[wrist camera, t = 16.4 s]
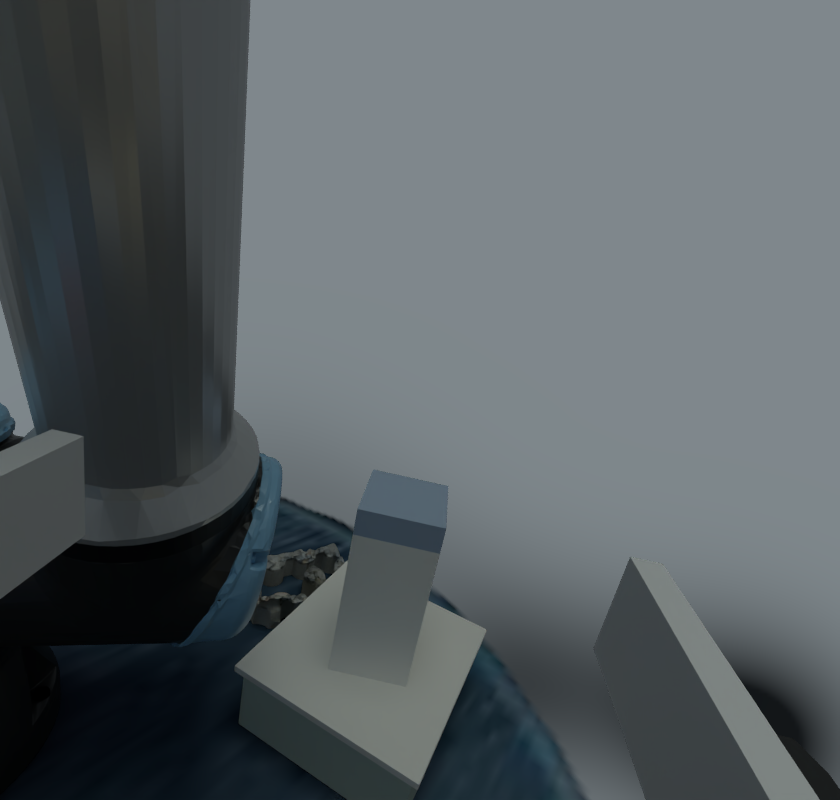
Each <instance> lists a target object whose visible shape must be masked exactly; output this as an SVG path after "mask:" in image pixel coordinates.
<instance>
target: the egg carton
mask: <svg viewBox="0 0 840 800" xmlns="http://www.w3.org/2000/svg"><path fill="white" fill-rule="evenodd" d="M343 564H344V560H343V558H342V557H340V554H339V551H338V549H337V547H336V545H335V544H330V545H328V546H325V547H322V548H319V549H317V550H311V549H309V550H308V551H307V552H304V551H302V550H301V549H300V550H297V551H295V552H291V553H283V554H280V555H268V556H267V568H266V572H265V577H264V581H263V584H264V585H266V586H277V585H279V584H280V583H281V582H282V581H283V577H284V576H288V575H293V576H294V577H295V578H297V579H300V580H303V584H302V590H301V594H299V595H298V596H295V595H289V594H287V593H284V592H278V593H275V594H274V595H271V596H269V597H267V596H263V597H262V596H261V592H260V595H259V598H258V601H257V604H256V607H255V610H254V612H253V615H252V617H251V621H252V624H261V625H264V626H266V628H267V629H272V628H276V627H277V626H278V625H279V623H280V620H281V619H282V618H284V617H286V616H288V615H290V614H291V613H292V612H293V611H294V610H295V609H296V608H297V607H298V606H299V605H300V604H301V603H302V602H303V601H305V600H306V599H307V598H308V597H309V596H310V595H311V594H312V593H313V592H314V591H315V590H316V589H317V588H318V587H320V586H321V585H322V584H323V583H324V582H325V580H326V579H325V574H324V572H325V573H330V574H333V573H334V572H336V571H337V570H338V569H339V568H340V567H341V566H342V565H343Z"/></svg>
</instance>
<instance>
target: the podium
mask: <svg viewBox="0 0 840 800" xmlns="http://www.w3.org/2000/svg"><path fill="white" fill-rule="evenodd" d="M347 564H348V561H346V562H345V563H344V564H343V565H342V566H341V567H340V568H339V569H338V570H337V571H336V572H334V573H333V574H332V575H331V576H330V577H329V578H328V579H327V580H326V581H325V582H324V583H323V584H322V585H321V586H320V587H318V588H317V589H316V590H315V591H314V592H313V593H312V594H311V595H310V596H309V597H308V598H307V599H306V600H305V601H303V602H302V603H301V604H300V605H299V606H298V607H297V608H296V609H295V610H294V611H293V612H292V613H291V614H290V615H288V616H287V617H286V618H285V619H284V620H283V621H282V622H281V623H280V624H279V625H278V626H277V627H276V628H275V629H274V630H272V631H271V632H270V633H269V634H268V635H267V636H266V637H265V638H264V639H263V640H262V641H261V642H260V643H259V644H257V645H256V646H255V647H254V648H253V649H252V650H251V651H250V652H249V653H248V654H247V655H246V656H245V657H244V658H242V659H241V660H240V661H239V662H238V663H237V664H236V665H235V668H234V671H235V672H237V673H238V674H240V675H241V676H243V677H244V679H243V688H242V696H241V705H240V714H239V723H238V724H240V725H241V726H243V727H244V728H245V729H247V730H248V731H250V732H251V733H253V734H254V735H256V736H257V737H258V738H260V739H261V740H263V741H264V742H266V743H267V744H268V745H270V746H271V747H273V748H274V749H276V750H277V751H278V752H280V753H281V754H283V755H284V756H286V757H287V758H288V759H290V760H291V761H293V762H294V763H296V764H297V765H298V766H300V767H301V768H303V769H304V770H306V771H307V772H308V773H310V774H311V775H313V776H314V777H316V778H317V779H318V780H320V781H321V782H323V783H324V784H326V785H327V786H328V787H330V788H331V789H333V790H334V791H336V792H337V793H338V794H340V795H341V796H343V797H344V798H346V799H347V800H413V799H414V796H415V794H416V792H417V791H418V788H419V786H420V784H421V781H422V779H423V777H424V774H425V772H426V770H427V767H428V765H429V763H430V761H431V758H432V756H433V754H434V751H435V749H436V747H437V744H438V742H439V740H440V738H441V735H442V733H443V731H444V728H445V726H446V724H447V721H448V719H449V717H450V715H451V712H452V710H453V708H454V705H455V703H456V701H457V698H458V696H459V694H460V691H461V689H462V687H463V685H464V682H465V680H466V678H467V675H468V673H469V671H470V668H471V666H472V664H473V662H474V659H475V657H476V655H477V652H478V650H479V648H480V645H481V643H482V641H483V639H484V636H485V634H486V631H487V630H486V629H484V628H482V627H480V626H478V625H476V624H474V623H472V622H470V621H468V620H466V619H464V618H462V617H460V616H458V615H456V614H454V613H452V612H450V611H448V610H446V609H444V608H442V607H440V606H438V605H436V604H434V603H432V602H430V601H428V602H427V606H426V610H425V614H424V618H423V622H422V626H421V630H420V634H419V638H418V641H417V645H416V649H415V653H414V657H413V661H412V665H411V669H410V673H409V677H408V681H407V685H406V687H404V686H400V685H395V684H391V683H386V682H382V681H378V680H373V679H369V678H364V677H360V676H356V675H351V674H347V673H342V672H338V671H334V670H329V669H328V667H329V661H330V656H331V651H332V645H333V640H334V634H335V629H336V623H337V618H338V613H339V607H340V602H341V596H342V591H343V586H344V580H345V575H346V569H347Z"/></svg>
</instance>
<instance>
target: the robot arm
mask: <svg viewBox="0 0 840 800" xmlns="http://www.w3.org/2000/svg"><path fill="white" fill-rule="evenodd" d="M249 19H250V0H0V301H1V304H2V308H3V312H4V315H5V319H6V323H7V326H8V330H9V334H10V338H11V341H12V345H13V349H14V353H15V356H16V359H17V364H18V367H19V371H20V375H21V379H22V382H23V386H24V389H25V393H26V397H27V401H28V404H29V408H30V412H31V415H32V419H33V423H34V428H33V429H32V430H31V431H30V432H29V433H28V434H27V435H26V436H25V437H20V436H15V435H14V434H13V430H14V429H15V421H14V419H13V418H12V417H10V414H9V411H8V409H7V408H6V407H5V406H4V405H2V404H1V403H0V794H1V793H2V792H3V791H4V790H5V789H6V788H7V787H8V786H9V785H10V784H11V783H12V782H13V781H14V780H15V779H16V778H17V777H18V776H19V775H20V774H21V773H22V772H23V770H24V769H25V768H26V767H27V766H28V765H29V763H30V762H31V761H32V759H33V758H34V757H35V756H36V754H37V753H38V751H39V750H40V748H41V747H42V746H43V744H44V742H45V741H46V739H47V737H48V735H49V733H50V731H51V730H52V727H53V725H54V723H55V720H56V717H57V714H58V710H59V706H60V696H61V693H60V674H59V667H58V663H57V660H56V657H55V655H54V653H53V651H52V650H51V648H50V647H49V646H59V645H107V644H155V643H170V644H171V645H172V646H175V647H184V646H187V645H189V644H190V643H194V642H207V641H220V640H226V639H229V638H232V637H234V636H235V635H237V634H238V633H240V632H241V631H242V630H243V629H244V628H245V626H246V625H247V624H248V622H249V621H250V619H251V617H252V615H253V612H254V610H255V607H256V604H257V601H258V598H259V595H260V592H261V588H262V585H263V581H264V577H265V572H266V568H267V556H268V554H269V552H270V547H271V544H272V541H273V537H274V532H275V527H276V522H277V516H278V510H279V503H280V496H281V486H282V467H281V464H280V463H279V461H277V460H276V459H275V458H272V457H268V456H266V455H265V454H261V453H259V447H258V441H257V437H256V435H255V432H254V431H253V429H252V427H251V426H250V425H249V423H248V422H247V421H246V420H245V419H244V418H243V417H242V416H241V415H240V414H239V413H238V412H236V411H235V410H234V391H235V366H236V342H237V341H236V340H237V317H238V292H239V266H240V243H241V218H242V193H243V192H242V191H243V168H244V144H245V143H244V142H245V119H246V93H247V69H248V44H249ZM594 651H595V654H596V657H597V660H598V663H599V666H600V669H601V672H602V674H603V677H604V680H605V683H606V686H607V689H608V692H609V694H610V698H611V700H612V703H613V706H614V709H615V712H616V715H617V718H618V721H619V724H620V726H621V729H622V732H623V735H624V738H625V741H626V744H627V747H628V749H629V752H630V755H631V758H632V761H633V764H634V767H635V770H636V772H637V776H638V778H639V781H640V784H641V787H642V790H643V793H644V796H645V799H646V800H840V789H839V788H838V786H837V785H836V783H835V782H834V781H833V779H832V778H831V776H830V775H829V774H828V773H827V772H826V771H825V770H824V769H823V768H822V767H821V766H820V765H819V764H818V763H817V762H816V761H815V760H814V759H813V758H812V757H811V756H810V755H809V754H808V753H807V752H806V751H805V750H804V749H803V748H802V747H801V746H800V745H799V744H798V743H797V742H796V741H795V740H794V739H793V738H788V737H783V736H780V735H776V733H775V732H774V730H773V729H772V728H771V726H770V724H769V723H768V721H767V720H766V718H765V717H764V715H763V714H762V712H761V711H760V710H759V708H758V706H757V705H756V703H755V702H754V700H753V699H752V697H751V696H750V694H749V693H748V691H747V690H746V688H745V687H744V685H743V684H742V682H741V681H740V679H739V678H738V676H737V675H736V673H735V672H734V670H733V669H732V667H731V666H730V664H729V663H728V661H727V660H726V658H725V657H724V655H723V654H722V652H721V651H720V649H719V648H718V646H717V645H716V643H715V642H714V640H713V639H712V637H711V636H710V634H709V633H708V631H707V630H706V628H705V627H704V625H703V624H702V622H701V621H700V619H699V618H698V616H697V615H696V613H695V612H694V610H693V609H692V607H691V606H690V604H689V603H688V601H687V600H686V598H685V597H684V595H683V594H682V592H681V591H680V589H679V588H678V587H677V585H676V583H675V582H674V580H673V579H672V577H671V576H670V574H669V573H668V571H667V570H666V568H665V567H664V565H663V564H660V563H656V562H651V561H647V560H642V559H638V558H634V557H630V559H629V561H628V564H627V566H626V569H625V572H624V574H623V576H622V579H621V581H620V584H619V586H618V589H617V591H616V594H615V596H614V599H613V601H612V604H611V606H610V609H609V611H608V614H607V616H606V619H605V621H604V623H603V626H602V628H601V631H600V633H599V636H598V639H597V641H596V643H595V646H594Z"/></svg>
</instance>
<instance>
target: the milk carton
mask: <svg viewBox="0 0 840 800" xmlns="http://www.w3.org/2000/svg"><path fill="white" fill-rule="evenodd" d="M447 500H448V486H445V485H441V484H436V483H432V482H427V481H423V480H418V479H414V478H409V477H405V476H400V475H396V474H391V473H386V472H382V471H378V470H373V472H372V474H371V477H370V479H369V482H368V484H367V487H366V490H365V492H364V494H363V497H362V499H361V502H360V504H359V507H358V510H357V515H356V520H355V526H354V531H353V537H352V542H351V548H350V553H349V558H348V564H347V569H346V575H345V580H344V586H343V591H342V596H341V602H340V607H339V613H338V618H337V623H336V629H335V634H334V640H333V645H332V651H331V656H330V661H329V667H328V669H329V670H334V671H338V672H342V673H347V674H351V675H356V676H360V677H364V678H369V679H373V680H378V681H382V682H386V683H391V684H395V685H400V686H404V687H406V685H407V681H408V677H409V673H410V669H411V665H412V661H413V657H414V653H415V649H416V645H417V641H418V638H419V634H420V630H421V626H422V622H423V618H424V614H425V610H426V606H427V602H428V598H429V594H430V590H431V586H432V582H433V578H434V575H435V571H436V567H437V563H438V559H439V555H440V551H441V547H442V543H443V539H444V535H445V531H446V522H447Z"/></svg>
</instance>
